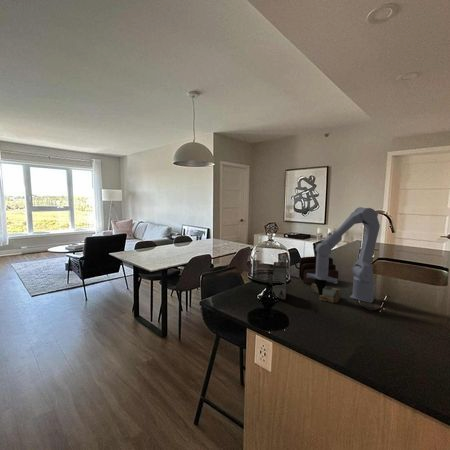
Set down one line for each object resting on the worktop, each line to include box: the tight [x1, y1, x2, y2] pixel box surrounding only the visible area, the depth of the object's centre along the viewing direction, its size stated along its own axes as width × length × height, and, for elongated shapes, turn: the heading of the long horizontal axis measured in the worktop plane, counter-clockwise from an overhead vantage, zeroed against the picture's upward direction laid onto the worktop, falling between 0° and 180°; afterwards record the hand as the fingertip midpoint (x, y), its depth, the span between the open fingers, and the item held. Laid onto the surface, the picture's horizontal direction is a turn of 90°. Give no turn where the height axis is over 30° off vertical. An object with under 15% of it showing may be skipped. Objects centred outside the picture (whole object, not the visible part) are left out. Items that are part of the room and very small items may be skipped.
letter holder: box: [298, 255, 339, 285], centre depth 148 cm, size 10×20×14 cm, turn 88°
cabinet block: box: [322, 285, 338, 298], centre depth 122 cm, size 5×5×6 cm
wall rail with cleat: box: [310, 283, 342, 304], centre depth 125 cm, size 14×10×4 cm
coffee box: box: [272, 261, 288, 300], centre depth 126 cm, size 9×6×16 cm
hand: (320, 294), depth 125 cm, fingers closed
